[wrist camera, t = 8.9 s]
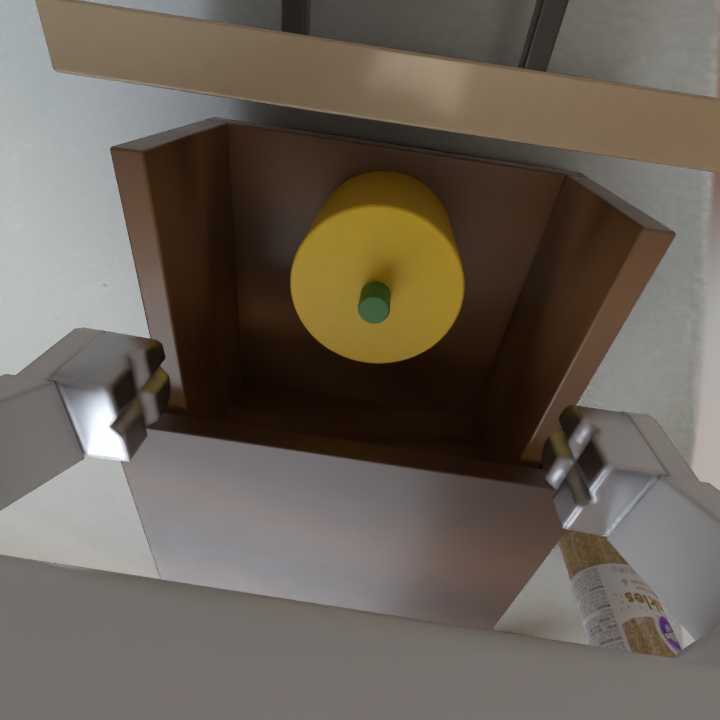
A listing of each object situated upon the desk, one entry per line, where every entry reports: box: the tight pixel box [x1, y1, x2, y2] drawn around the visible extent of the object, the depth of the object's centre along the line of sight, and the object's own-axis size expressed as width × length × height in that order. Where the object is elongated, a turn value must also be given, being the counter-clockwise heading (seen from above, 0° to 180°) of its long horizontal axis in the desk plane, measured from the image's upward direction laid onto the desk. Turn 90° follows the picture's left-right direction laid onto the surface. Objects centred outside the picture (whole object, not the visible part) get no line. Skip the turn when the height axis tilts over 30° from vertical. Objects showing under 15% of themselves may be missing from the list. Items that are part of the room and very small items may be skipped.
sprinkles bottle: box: [557, 530, 682, 658], centre depth 23 cm, size 5×5×13 cm
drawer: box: [36, 0, 720, 469], centre depth 13 cm, size 19×14×7 cm
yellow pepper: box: [290, 171, 465, 363], centre depth 14 cm, size 5×5×5 cm
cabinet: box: [121, 410, 567, 630], centre depth 21 cm, size 16×16×9 cm
